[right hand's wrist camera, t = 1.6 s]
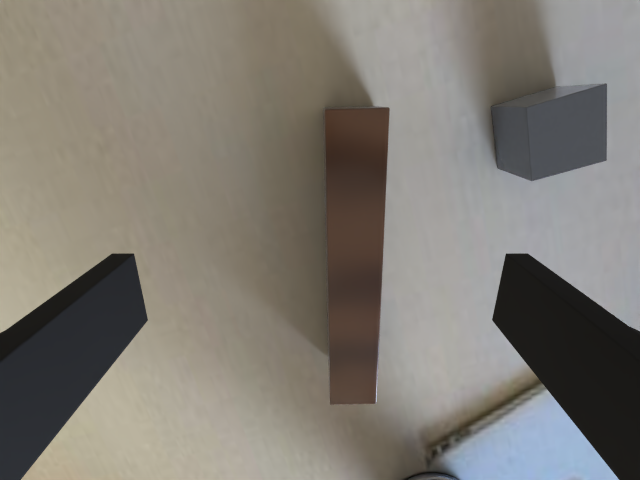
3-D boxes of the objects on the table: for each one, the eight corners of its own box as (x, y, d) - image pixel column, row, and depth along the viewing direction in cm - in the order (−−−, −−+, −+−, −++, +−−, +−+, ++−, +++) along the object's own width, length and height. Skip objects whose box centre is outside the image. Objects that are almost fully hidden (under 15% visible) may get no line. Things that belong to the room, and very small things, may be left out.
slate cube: (490, 106, 27) (526, 107, 22) (556, 86, 27) (607, 83, 22) (497, 168, 29) (531, 181, 24) (559, 151, 28) (606, 160, 24)
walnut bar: (323, 107, 27) (324, 109, 22) (375, 106, 27) (389, 107, 22) (328, 357, 36) (330, 405, 30) (367, 357, 36) (376, 404, 30)
